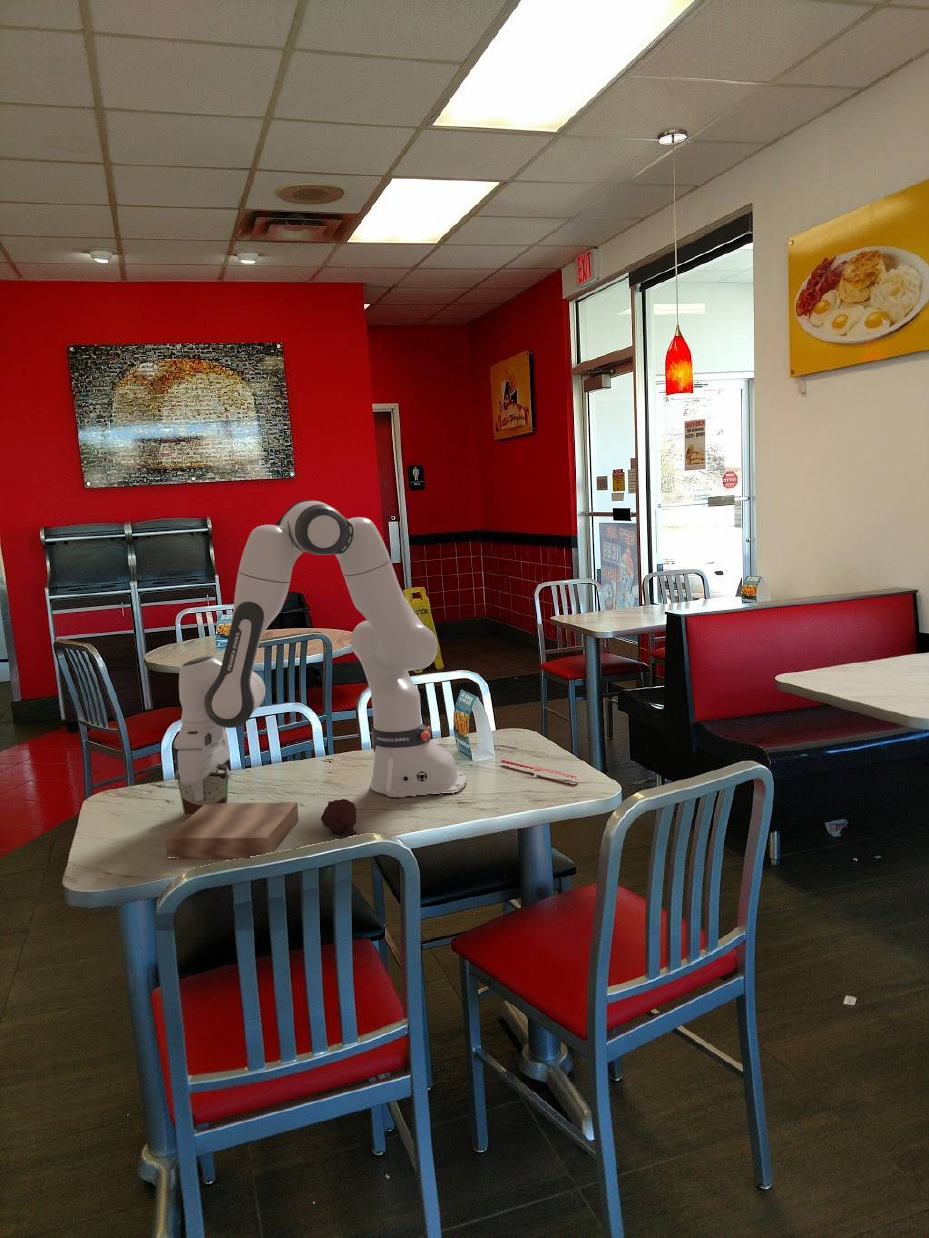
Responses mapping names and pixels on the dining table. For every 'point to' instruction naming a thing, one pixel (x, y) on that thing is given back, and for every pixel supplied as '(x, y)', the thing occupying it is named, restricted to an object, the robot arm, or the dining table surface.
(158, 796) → the dining table surface
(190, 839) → the walnut block
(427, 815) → the dining table surface
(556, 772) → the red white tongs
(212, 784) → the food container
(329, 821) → the icecream
